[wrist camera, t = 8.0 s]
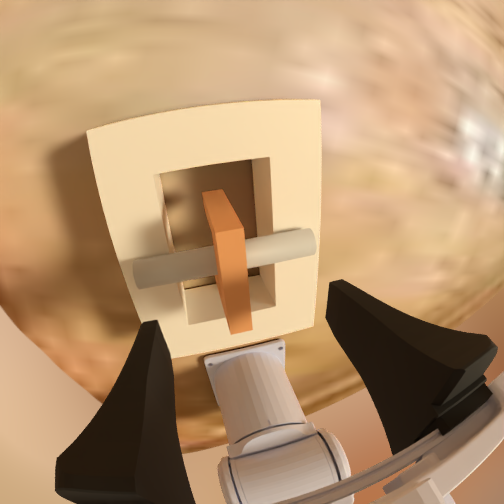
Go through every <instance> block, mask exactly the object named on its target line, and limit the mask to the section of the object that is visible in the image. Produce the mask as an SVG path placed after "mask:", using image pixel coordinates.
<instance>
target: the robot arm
mask: <svg viewBox="0 0 504 504" xmlns="http://www.w3.org/2000/svg"><path fill="white" fill-rule="evenodd" d="M325 318H326V320H327V322H328V324H329V326H330V328H331V330H332V332H333V334H334V336H335V338H336V340H337V341H338V343H339V344H340V346H341V347H342V349H343V350H344V352H345V353H346V355H347V356H348V358H349V359H350V361H351V362H352V364H353V365H354V367H355V368H356V370H357V371H358V373H359V374H360V376H361V378H362V380H363V381H364V383H365V385H366V387H367V389H368V391H369V394H370V395H371V398H372V400H373V402H374V404H375V407H376V409H377V411H378V414H379V416H380V419H381V421H382V424H383V427H384V429H385V432H386V435H387V438H388V441H389V444H390V448H391V451H392V454H393V456H392V457H390V458H388V459H386V460H384V461H382V462H380V463H378V464H376V465H374V466H372V467H370V468H368V469H366V470H364V471H362V472H360V473H357V474H355V475H353V476H351V472H350V466H349V463H348V460H347V457H346V455H345V452H344V450H343V448H342V446H341V444H340V443H339V441H338V439H337V438H336V437H335V435H334V434H333V433H331V432H329V431H327V430H325V429H318V430H316V428H315V426H314V424H313V422H309V423H308V422H307V420H306V418H305V416H304V413H303V411H302V409H301V407H300V405H299V402H298V400H297V398H296V396H295V393H294V391H293V389H292V387H291V384H290V382H289V380H288V378H287V375H286V373H285V342H284V340H283V339H279V340H275V341H271V342H267V343H263V344H259V345H255V346H250V347H246V348H242V349H237V350H233V351H228V352H223V353H219V354H214V355H209V356H206V357H204V363H205V367H206V370H207V373H208V376H209V379H210V382H211V386H212V389H213V392H214V395H215V398H216V401H217V404H218V406H220V409H221V413H222V417H223V421H224V425H225V429H226V433H227V437H228V441H229V446H227V450H228V454H229V456H227V457H223V458H222V459H221V461H220V463H219V464H218V476H219V481H220V485H221V489H222V492H223V495H224V498H225V501H226V503H227V504H353V502H354V497H353V496H354V493H356V492H359V491H361V490H363V489H365V488H367V487H369V486H371V485H373V484H375V483H377V482H379V481H381V480H383V479H385V478H387V477H389V476H391V475H393V474H394V473H396V472H398V471H400V470H401V469H403V468H405V467H407V466H408V465H410V464H412V463H413V462H415V461H416V460H417V461H416V464H415V465H413V466H412V467H410V468H409V469H407V470H406V471H404V472H403V473H401V474H400V475H399V476H398V477H397V478H395V479H394V480H393V481H391V482H390V483H388V484H387V485H385V486H384V487H383V490H384V492H385V493H386V495H385V496H383V497H381V498H379V499H377V500H375V501H373V502H371V503H369V504H456V503H455V502H454V500H453V498H452V497H451V495H450V492H451V491H452V490H453V489H454V488H455V487H457V486H458V485H459V484H460V483H461V482H462V481H464V480H465V479H466V478H467V477H468V476H469V475H470V474H471V473H472V472H473V471H474V470H475V469H476V468H477V467H478V466H479V465H480V464H481V463H482V462H483V461H484V460H485V459H486V458H487V457H488V456H489V455H490V454H491V453H492V452H493V451H494V449H495V448H496V447H497V446H498V445H499V444H500V443H501V441H502V440H503V439H504V371H503V372H502V373H501V374H500V375H499V376H498V377H497V378H496V379H494V381H492V382H491V383H490V384H489V385H488V387H487V386H486V384H485V382H486V377H485V376H484V375H483V374H484V372H485V370H486V369H487V368H488V366H489V365H490V363H491V362H492V360H493V359H494V357H495V355H496V353H497V349H498V347H497V346H496V345H495V344H494V343H493V342H492V341H491V339H490V338H489V337H488V336H487V335H482V334H474V333H466V332H461V331H456V330H452V329H448V328H444V327H440V326H437V325H434V324H431V323H428V322H425V321H422V320H420V319H417V318H415V317H412V316H410V315H408V314H405V313H403V312H401V311H399V310H397V309H395V308H393V307H391V306H389V305H387V304H385V303H383V302H382V301H380V300H378V299H376V298H374V297H373V296H371V295H369V294H367V293H366V292H364V291H362V290H360V289H359V288H357V287H355V286H354V285H352V284H350V283H348V282H346V281H344V280H342V279H340V280H337V281H333V282H329V291H328V301H327V309H326V317H325ZM55 468H56V469H55V491H56V493H57V494H58V495H60V496H61V497H63V498H65V499H67V500H69V501H72V502H74V503H76V504H196V503H195V500H194V498H193V494H192V491H191V488H190V484H189V481H188V477H187V473H186V470H185V466H184V462H183V457H182V453H181V448H180V443H179V438H178V433H177V426H176V413H175V394H174V374H173V367H172V360H171V354H170V351H169V348H168V346H167V343H166V341H165V338H164V336H163V333H162V330H161V328H160V325H159V322H158V320H151V321H146V322H143V323H142V324H141V326H140V329H139V331H138V334H137V337H136V339H135V342H134V344H133V346H132V349H131V351H130V353H129V356H128V358H127V360H126V362H125V365H124V367H123V369H122V371H121V373H120V375H119V377H118V379H117V381H116V383H115V384H114V386H113V388H112V390H111V391H110V393H109V395H108V397H107V398H106V400H105V401H104V403H103V404H102V406H101V408H100V409H99V410H98V412H97V413H96V415H95V416H94V418H93V419H92V420H91V422H90V423H89V424H88V425H87V427H86V428H85V429H84V430H83V432H82V433H81V434H80V435H79V436H78V437H77V439H76V440H75V441H74V442H73V443H72V444H71V445H70V446H69V447H68V448H67V449H66V450H65V451H64V452H63V453H62V454H61V455H60V456H59V457H57V461H56V467H55Z"/></svg>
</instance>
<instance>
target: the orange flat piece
mask: <svg viewBox="0 0 504 504" xmlns="http://www.w3.org/2000/svg"><path fill="white" fill-rule="evenodd" d="M202 196H203V204H204V209H205V213H206V216H207V219H208V223H209V226H210V229H211V232H212V238H213V245H214V252H215V258H216V265H217V271H218V275H214V276H215V280H216V284H217V288H218V291H219V295H220V299H221V302H222V306H223V309H224V313H225V316H226V320H227V323H228V327H229V330H230V334H231V335H233V334H237V333H242V332H246V331H251V330H253V326H252V315H251V304H250V293H249V282H248V270H247V259H246V247H245V236H244V227H243V225H242V224H241V222H240V220H239V218H238V216H237V215H236V213H235V211H234V209H233V207H232V206H231V204H230V202H229V200H228V198H227V197H226V195H225V193H224V191H223V189H219V190H213V191H207V192H202Z"/></svg>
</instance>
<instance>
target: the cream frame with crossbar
mask: <svg viewBox="0 0 504 504" xmlns="http://www.w3.org/2000/svg"><path fill="white" fill-rule="evenodd" d="M86 133H87V138H88V144H89V149H90V155H91V160H92V165H93V169H94V174H95V178H96V183H97V187H98V191H99V195H100V199H101V203H102V207H103V211H104V215H105V218H106V222H107V225H108V229H109V232H110V236H111V239H112V242H113V245H114V249H115V252H116V255H117V258H118V261H119V264H120V267H121V270H122V273H123V276H124V279H125V281H126V284H127V287H128V290H129V292H130V295H131V298H132V300H133V303H134V306H135V308H136V311H137V313H138V316H139V318H140V321H141V323H143V322H146V321H151V320H158V322H159V325H160V328H161V330H162V333H163V336H164V338H165V341H166V343H167V346H168V348H169V351H170V354H171V359H172V358H178V357H183V356H189V355H194V354H199V353H204V352H210V351H214V350H219V349H224V348H229V347H233V346H238V345H242V344H247V343H251V342H255V341H259V340H263V339H268V338H272V337H276V336H279V335H283V334H287V333H291V332H295V331H298V330H302V329H306V328H309V327H313V326H314V315H315V303H316V291H317V277H318V261H319V242H320V218H321V106H320V100H314V99H273V100H254V101H241V102H229V103H220V104H211V105H203V106H195V107H189V108H182V109H176V110H170V111H164V112H159V113H154V114H149V115H144V116H139V117H134V118H130V119H126V120H122V121H117V122H113V123H110V124H106V125H102V126H99V127H96V128H93V129H90V130H87V131H86ZM247 159H252V170H253V184H254V198H255V212H256V226H257V237H255V238H250V239H245V247H246V259H247V269H248V268H253V267H258V266H259V270H260V275H256V276H252V277H248V282H249V293H250V304H251V315H252V326H253V330H251V331H246V332H242V333H237V334H233V335H231V334H230V330H229V327H228V323H227V320H226V316H225V313H224V309H223V306H222V302H221V299H220V295H219V291H218V288H217V284H212V285H207V286H202V287H197V288H192V289H186V290H184V287H183V283H182V281H187V280H192V279H198V278H203V277H208V276H213V275H218V271H217V265H216V258H215V252H214V245H212V246H207V247H201V248H196V249H191V250H186V251H180V252H175V249H174V244H173V240H172V235H171V230H170V226H169V221H168V216H167V211H166V206H165V201H164V195H163V190H162V184H161V179H160V173H165V172H170V171H176V170H181V169H187V168H193V167H199V166H205V165H211V164H218V163H225V162H232V161H240V160H247Z"/></svg>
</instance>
